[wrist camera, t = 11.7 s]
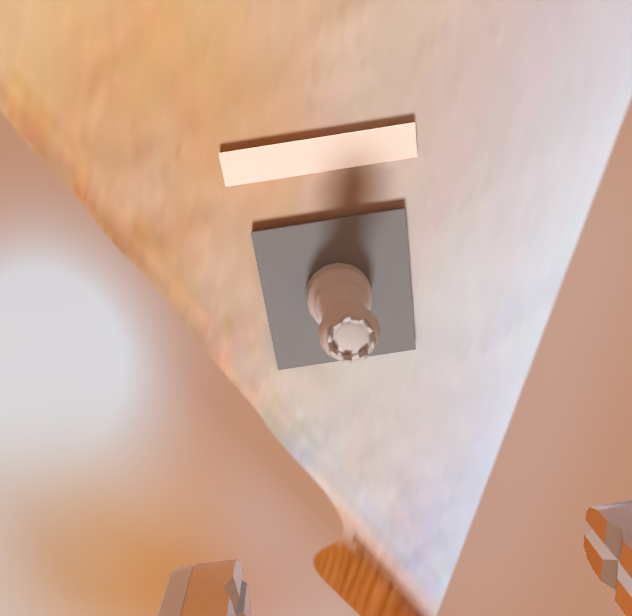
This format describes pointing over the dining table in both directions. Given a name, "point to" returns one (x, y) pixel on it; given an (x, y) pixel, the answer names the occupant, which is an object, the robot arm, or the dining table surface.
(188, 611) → the robot arm
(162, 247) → the dining table surface
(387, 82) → the dining table surface
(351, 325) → the rook chess piece
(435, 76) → the dining table surface
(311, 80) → the dining table surface
